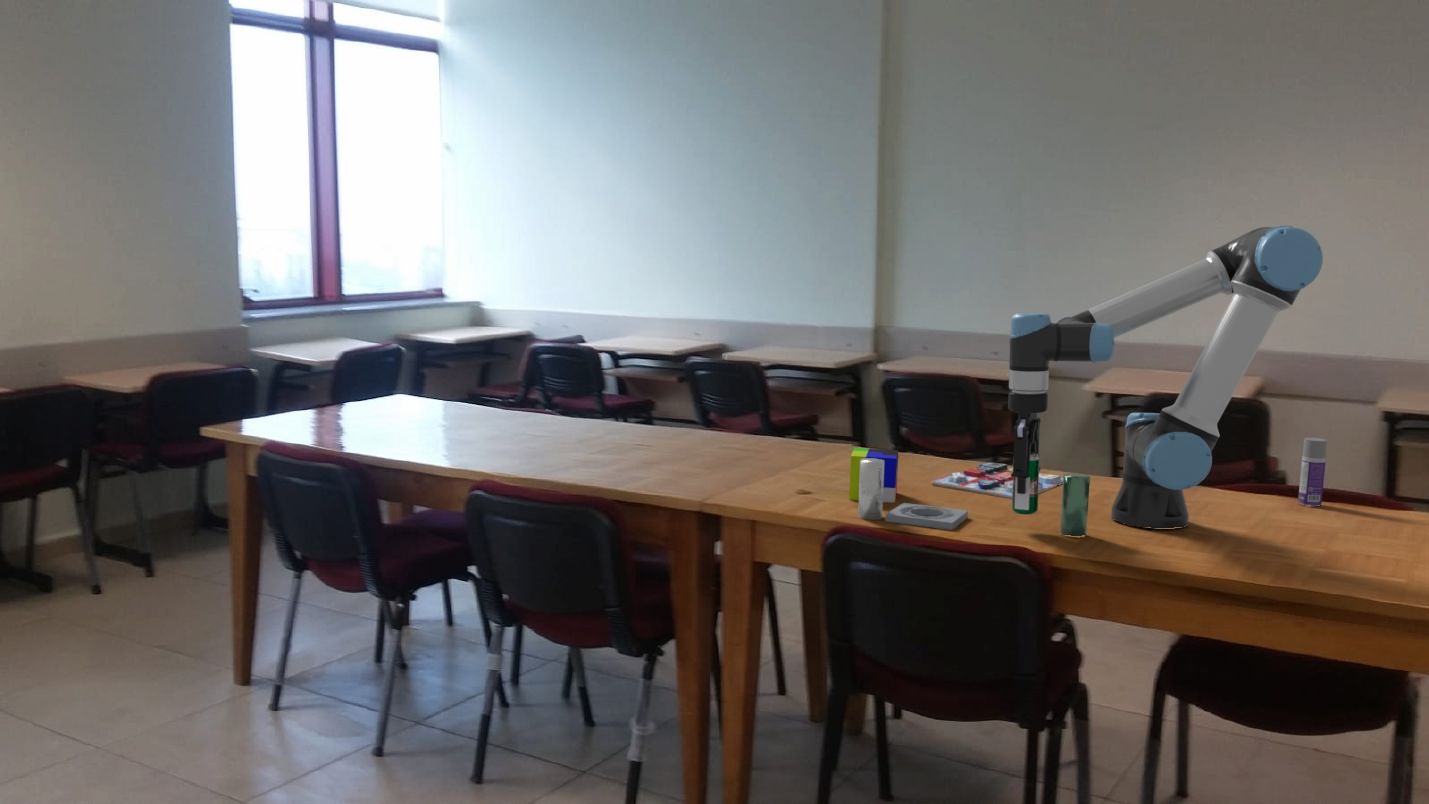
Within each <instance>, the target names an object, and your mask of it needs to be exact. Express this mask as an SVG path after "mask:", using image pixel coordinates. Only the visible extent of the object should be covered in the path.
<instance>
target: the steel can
mask: <svg viewBox="0 0 1429 804" xmlns="http://www.w3.org/2000/svg"><path fill="white" fill-rule="evenodd" d="M883 485H884V460H881V459H874V458H865V459H861V460H860V480H859V500H858V507H857V508H858V510H857V512H858V513H857V516H858V517H857V518H859V519H863V520H868V521H871V520H872V521H876V520H880V519H881V520H882V518H883V508H884V507H883V506H884V502H883Z"/></svg>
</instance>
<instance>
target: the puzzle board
mask: <svg viewBox="0 0 1429 804" xmlns="http://www.w3.org/2000/svg"><path fill="white" fill-rule="evenodd" d="M1011 473H1012V474H1013V467H1008V464H1006V463H999V462H988V463H982V464H979V466H976V467H974V468H973V467H971V468H967V469H964V470H963V471H962V472H958V471H957V472H952V473H951V475H948V476H944V477H941V478H939V479H934V480H931V486H934V487H939V488H944V489H951V490H957V491H964V492H969V493H975V494H981V495H988V496H994V497H998V498H1004V499H1011V500H1012V485H1013V477H1011ZM1061 484H1062V485H1063V476H1060V475H1058V474H1057V475H1056V474H1047V473H1041V472H1039V491H1038V495H1039V494H1042V493H1044V492H1046V491H1049V490H1051V488H1052V489H1054V488H1056V487H1055V486H1057V485H1059V486H1062V485H1061ZM1053 487H1054V488H1053ZM1057 487H1058V486H1057Z"/></svg>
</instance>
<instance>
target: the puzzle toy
mask: <svg viewBox="0 0 1429 804" xmlns="http://www.w3.org/2000/svg"><path fill="white" fill-rule="evenodd" d="M865 458H874V459H881V460H884V485H883V503H894V504H895V503H896V497H897V491H898V466H899V450H895V449H881V448H880V449H878V448H860V447H854V448H853V450H852V453H851V455H850V465H849V468H850V469H849V471H850V473H849V477H850V478H849V496H848V498H849V501H859V480H860V460H861V459H865Z"/></svg>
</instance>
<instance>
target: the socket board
mask: <svg viewBox="0 0 1429 804" xmlns="http://www.w3.org/2000/svg"><path fill="white" fill-rule="evenodd" d="M968 514H969V510H965V509H956V508H951V507H950V508H948V507H942V506H941V507H940V506H932V505H925V504H916V503H910V502H908V503H907V502H903V503H901V504H900V505H898V506H896V507H895V508H893V509H891V510H890V511H888V512H887V513H885V520H884V521H885V522H888V523H895V524H904V525H909V526H918V527H926V528H931V529H939V530H947V531H953V530H954V529H956V528H957V527H958V526H959V525H960V524H962V523H963V522H965V520H967V519H968V518H969V515H968Z"/></svg>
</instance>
